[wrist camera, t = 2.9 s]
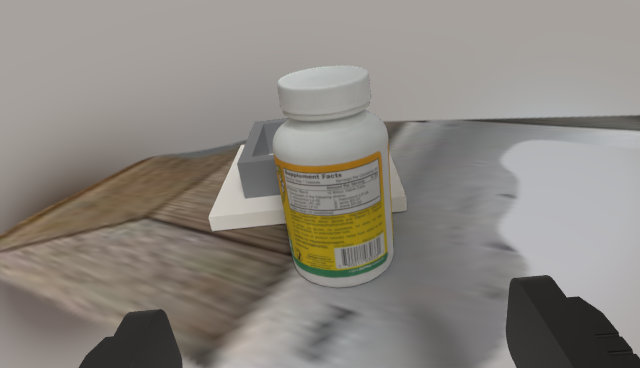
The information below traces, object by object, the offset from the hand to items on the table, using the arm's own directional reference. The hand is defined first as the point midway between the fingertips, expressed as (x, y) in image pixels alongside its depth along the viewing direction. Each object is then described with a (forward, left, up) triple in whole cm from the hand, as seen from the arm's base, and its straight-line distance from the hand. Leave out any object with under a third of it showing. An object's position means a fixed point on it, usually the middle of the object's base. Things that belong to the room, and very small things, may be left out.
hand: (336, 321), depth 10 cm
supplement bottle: (0, -11, -6) cm, 13 cm away
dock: (+2, -21, -6) cm, 22 cm away
